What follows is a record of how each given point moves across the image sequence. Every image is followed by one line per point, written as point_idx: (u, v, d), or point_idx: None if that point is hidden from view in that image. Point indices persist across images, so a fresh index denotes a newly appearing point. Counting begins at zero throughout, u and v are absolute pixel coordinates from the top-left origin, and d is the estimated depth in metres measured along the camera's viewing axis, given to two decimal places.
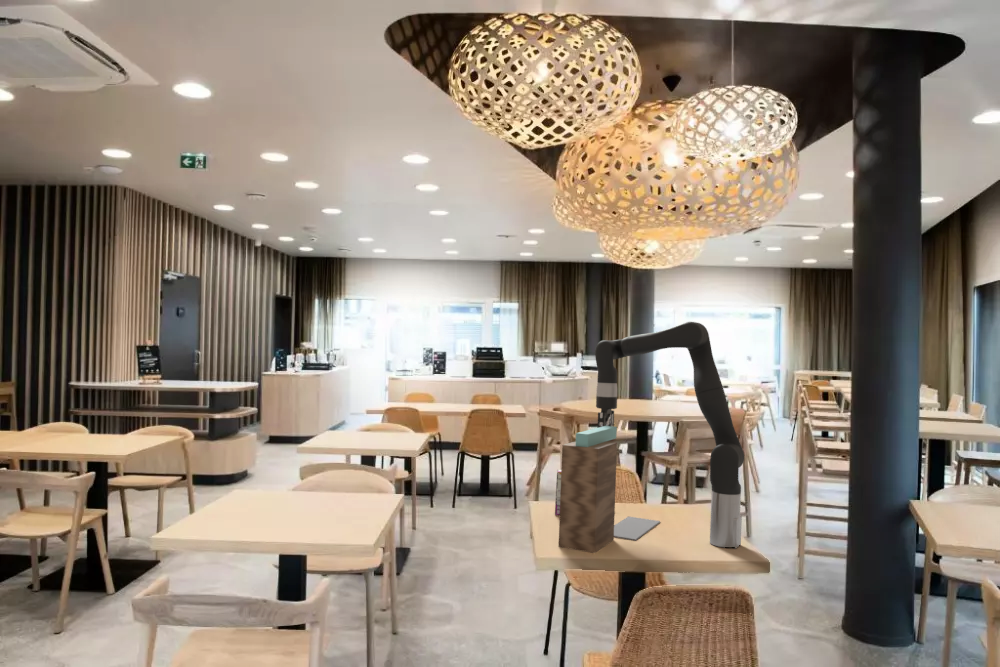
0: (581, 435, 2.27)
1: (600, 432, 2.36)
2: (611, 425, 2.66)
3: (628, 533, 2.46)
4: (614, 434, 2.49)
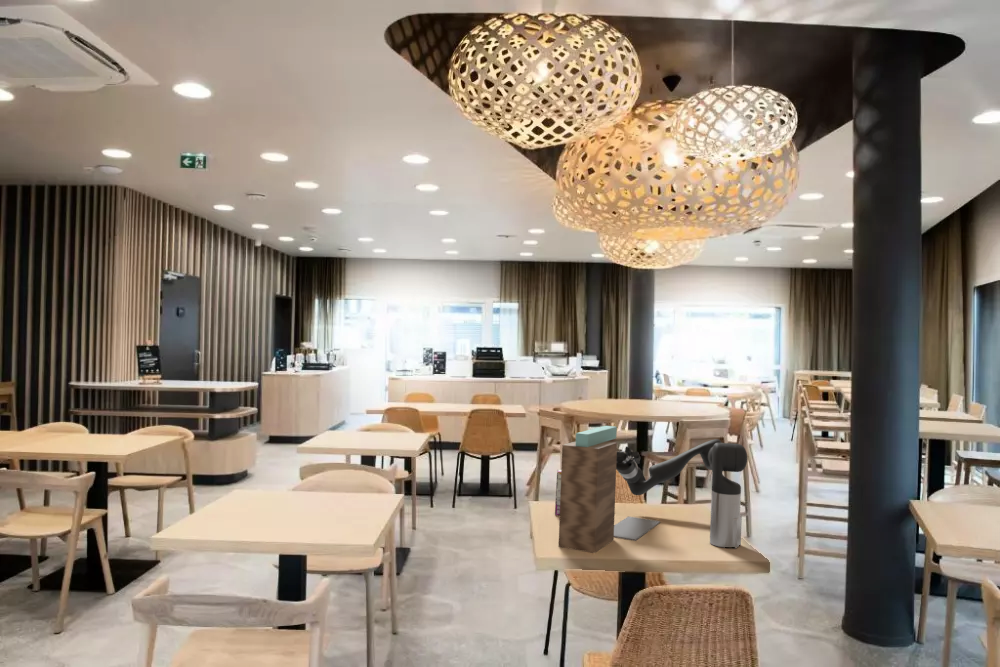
0: (581, 435, 2.27)
1: (600, 432, 2.36)
2: None
3: (628, 533, 2.46)
4: (614, 434, 2.49)
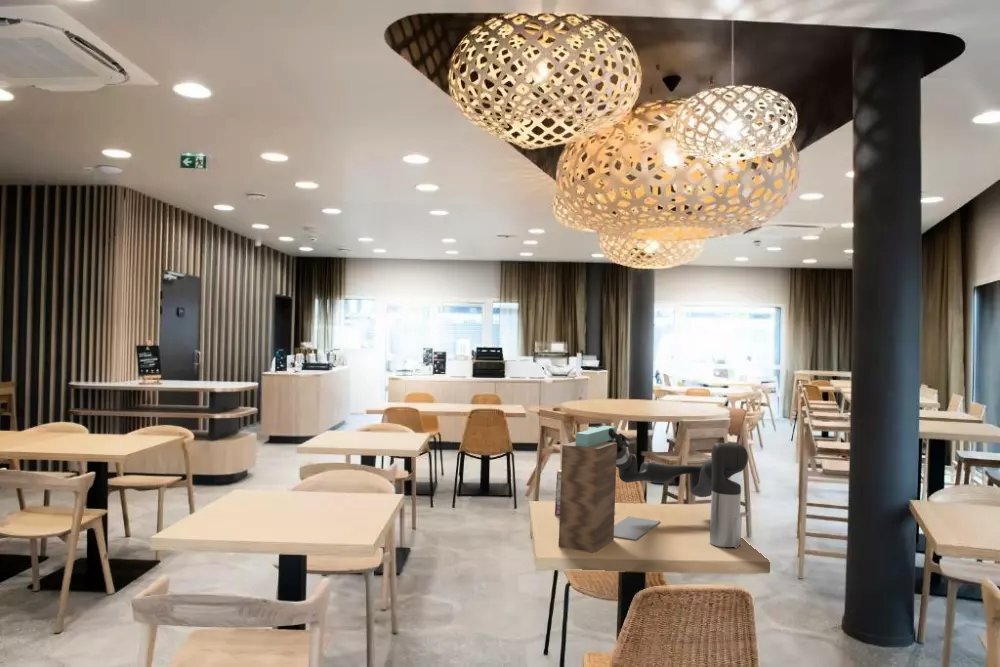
0: (581, 435, 2.27)
1: (600, 432, 2.36)
2: None
3: (628, 533, 2.46)
4: None
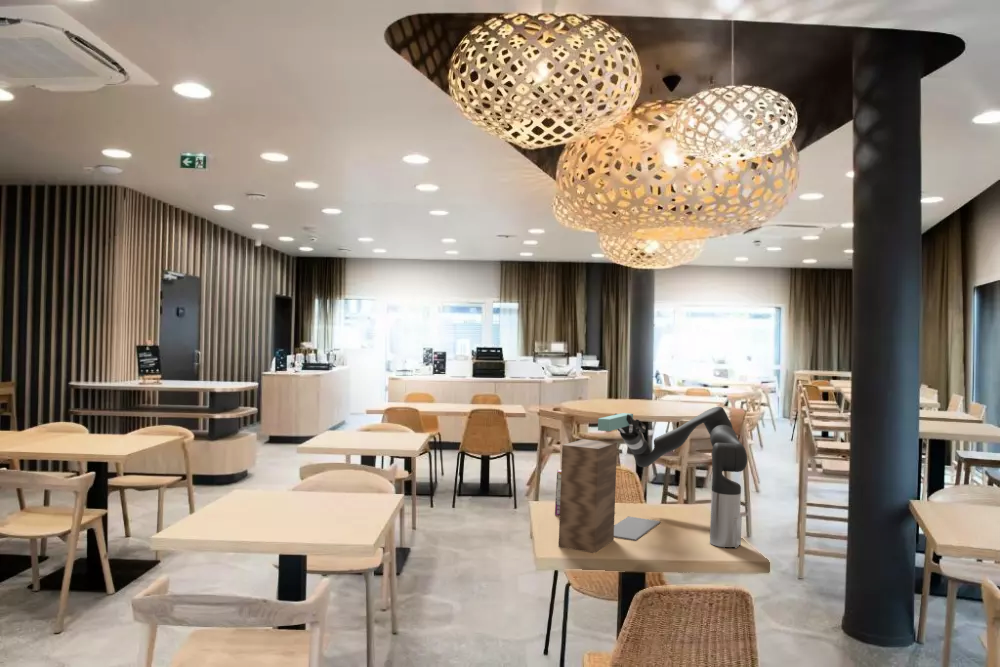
0: (603, 420, 2.44)
1: (619, 418, 2.54)
2: None
3: (628, 533, 2.46)
4: None
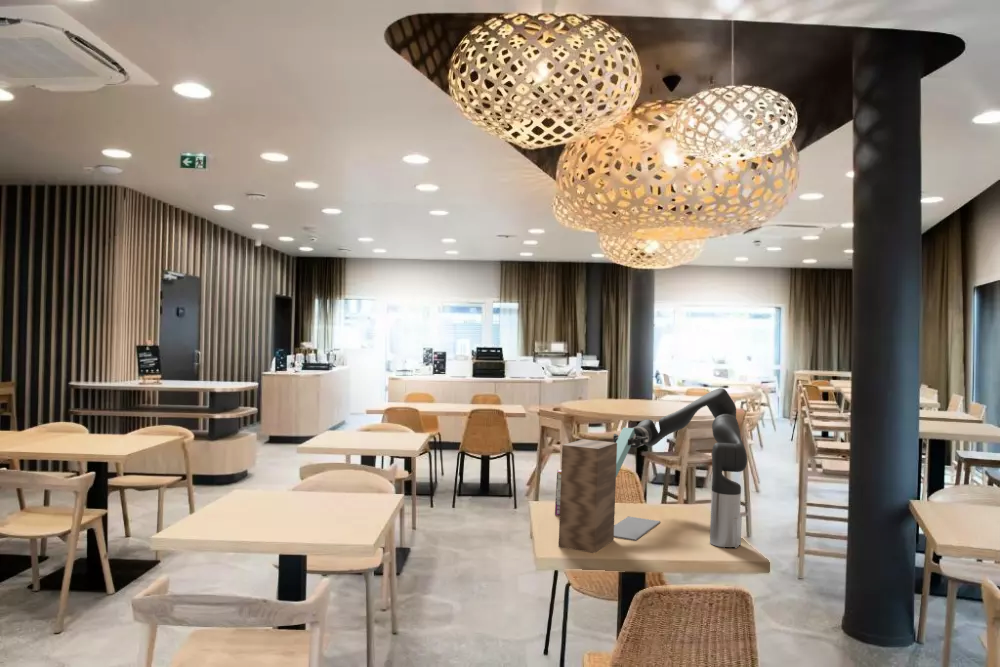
0: None
1: (620, 456, 2.55)
2: None
3: (628, 533, 2.46)
4: None
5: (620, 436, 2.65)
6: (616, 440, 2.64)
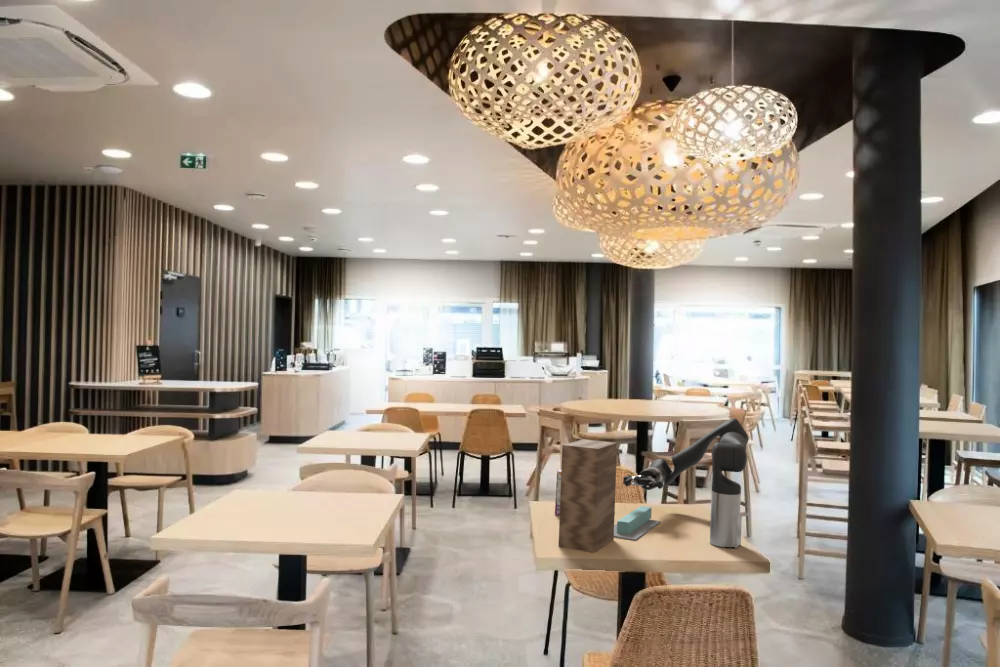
0: (622, 523, 2.45)
1: (638, 517, 2.55)
2: (632, 484, 2.66)
3: None
4: (649, 515, 2.67)
5: (638, 508, 2.66)
6: (626, 482, 2.62)
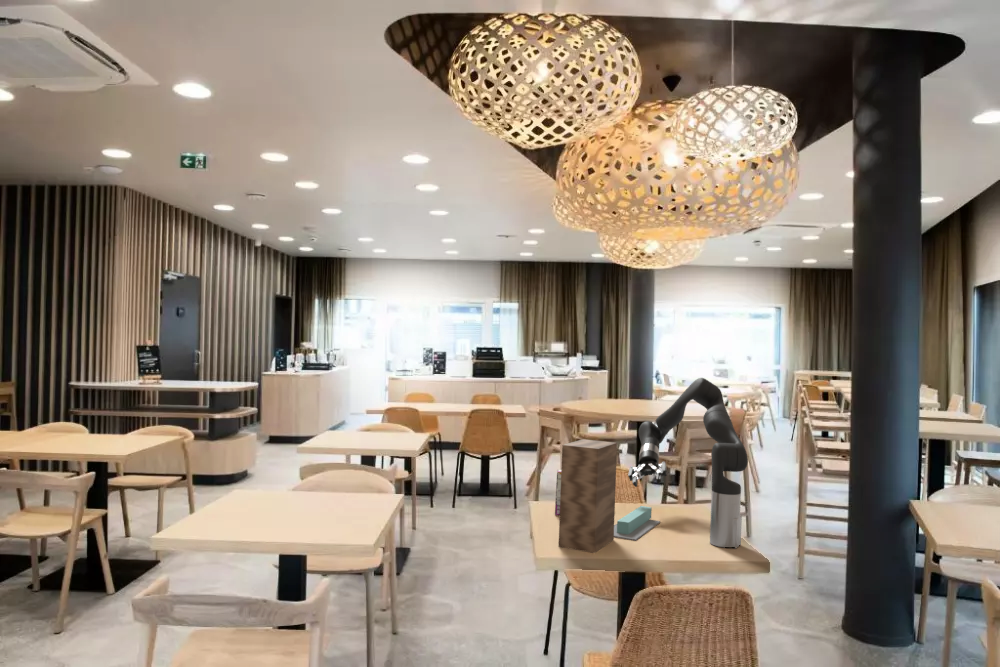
0: (622, 523, 2.45)
1: (638, 517, 2.55)
2: None
3: None
4: (649, 515, 2.67)
5: (638, 508, 2.66)
6: (635, 484, 2.70)
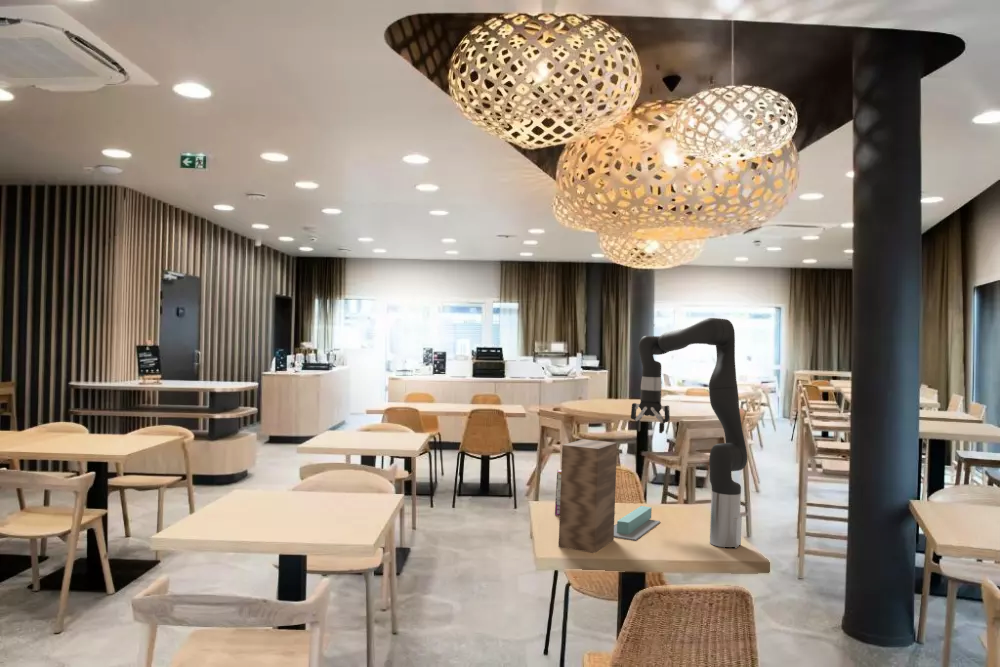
0: (622, 523, 2.45)
1: (638, 517, 2.55)
2: (641, 417, 2.75)
3: None
4: (649, 515, 2.67)
5: (638, 508, 2.66)
6: None
